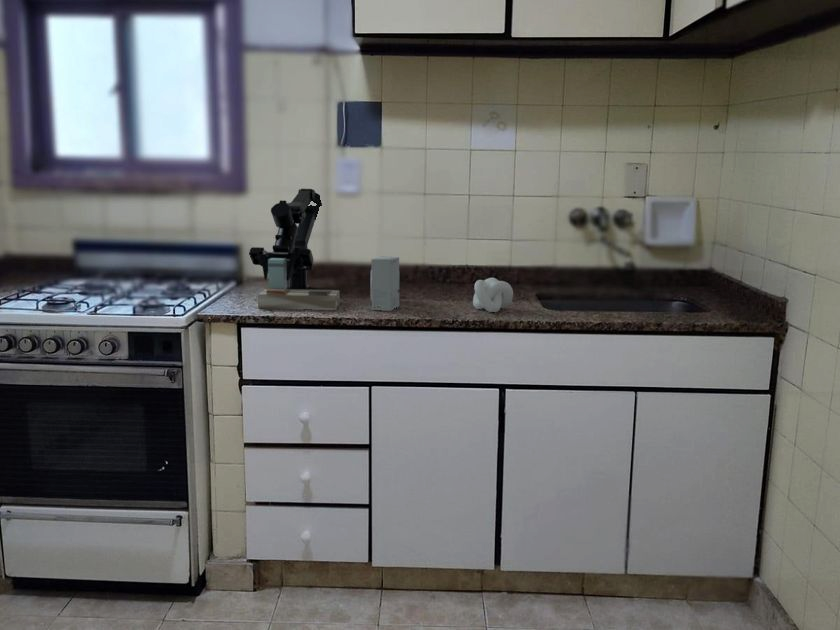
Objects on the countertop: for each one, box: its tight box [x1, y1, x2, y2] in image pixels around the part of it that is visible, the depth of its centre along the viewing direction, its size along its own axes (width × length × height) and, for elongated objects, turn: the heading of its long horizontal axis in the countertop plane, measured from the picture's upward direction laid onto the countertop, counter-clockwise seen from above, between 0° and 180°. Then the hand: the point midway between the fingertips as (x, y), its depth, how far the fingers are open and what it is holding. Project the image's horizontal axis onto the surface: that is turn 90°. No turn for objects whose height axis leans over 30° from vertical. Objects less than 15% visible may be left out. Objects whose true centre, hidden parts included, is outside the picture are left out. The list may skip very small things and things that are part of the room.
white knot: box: [472, 277, 514, 313], centre depth 219 cm, size 11×12×9 cm
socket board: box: [257, 288, 341, 311], centre depth 221 cm, size 10×22×5 cm, turn 89°
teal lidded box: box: [267, 258, 288, 289], centre depth 228 cm, size 5×5×12 cm
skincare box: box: [371, 256, 400, 312], centre depth 219 cm, size 8×6×15 cm
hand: (276, 279), depth 227 cm, fingers open, 6 cm apart
